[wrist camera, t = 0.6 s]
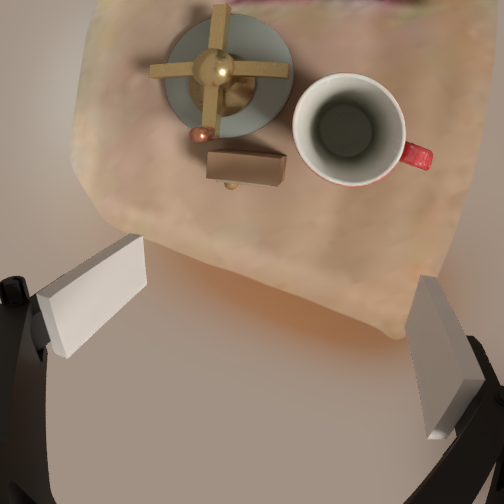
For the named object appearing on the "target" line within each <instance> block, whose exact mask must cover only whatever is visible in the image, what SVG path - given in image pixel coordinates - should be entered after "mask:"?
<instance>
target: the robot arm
mask: <svg viewBox="0 0 504 504" xmlns="http://www.w3.org/2000/svg"><path fill="white" fill-rule="evenodd" d="M146 285H147V280H146V269H145V258H144V246H143V235H138V234H131V233H130V234H128V235H127V236H125V237H123V238H122V239H120V240H118V241H117V242H115V243H114V244H112V245H110V246H109V247H107V248H106V249H104V250H102V251H100V252H99V253H97V254H96V255H94V256H93V257H91V258H89V259H88V260H86V261H85V262H83V263H81V264H80V265H78V266H77V267H75V268H74V269H72V270H71V271H69V272H68V273H66V274H64V275H62V276H61V277H59V278H58V279H56V280H55V281H53V282H52V283H50V284H49V285H47V286H46V287H44V288H43V289H41V290H40V291H38V292H37V293H35V294H34V295H33V296H31V297H30V296H29V292H28V289H27V285H26V281H25V278H23V277H21V276H12V277H8V278H6V279H4V280H2V281H1V282H0V299H1V302H2V304H0V504H56V502H55V500H54V498H53V496H52V493H51V490H50V482H49V472H48V462H47V448H46V417H45V416H46V411H45V410H46V408H45V406H46V405H45V403H46V371H47V370H46V369H47V355H48V353H47V349H46V345H47V343H49V342H50V341H51V344H52V347H53V350H54V352H55V353H56V354H58V355H60V356H62V357H64V358H67V359H68V358H69V357H70V356H71V355H72V354H73V353H74V352H75V351H76V350H77V349H78V348H79V347H80V346H81V345H82V344H83V343H84V342H86V341H87V340H88V339H89V338H90V337H91V336H92V335H93V334H94V333H95V332H96V331H97V330H98V329H99V328H100V327H101V326H102V325H103V324H105V323H106V322H107V321H108V320H109V319H110V318H111V317H112V316H113V315H114V314H115V313H116V312H117V311H119V310H120V309H121V308H122V307H123V306H124V305H125V304H126V303H127V302H128V301H129V300H130V299H132V298H133V297H134V296H135V295H136V294H137V293H138V292H139V291H140V290H141V289H143V288H144V287H145V286H146ZM405 331H406V335H407V338H408V342H409V347H410V351H411V355H412V360H413V364H414V369H415V373H416V378H417V383H418V388H419V394H420V399H421V405H422V410H423V416H424V422H425V429H426V435H427V439H447V437H448V436H449V435H450V433H451V432H452V431H453V429H454V428H455V431H456V436H457V437H456V439H455V440H454V441H453V443H452V444H451V446H449V448H448V449H447V450H446V452H445V453H444V454H443V457H442V458H441V459H440V460H439V462H438V463H437V464H436V466H435V467H434V468H433V469H432V471H431V472H430V473H429V474H428V476H427V477H426V478H425V479H424V480H423V482H422V483H421V484H420V485H419V486H418V488H417V489H416V490H415V491H414V492H413V493H412V495H411V496H410V497H409V498H408V499H407V500H406V501H405V502H404V503H403V504H472V503H473V501H474V500H475V498H476V496H477V495H478V493H479V491H480V490H481V488H482V486H483V484H484V483H485V481H486V479H487V477H488V476H489V474H490V472H491V470H492V468H493V466H494V464H495V462H496V466H495V470H494V474H493V478H492V482H491V486H490V490H489V493H488V496H487V500H486V503H485V504H504V386H500V383H499V381H498V379H497V376H496V374H495V372H494V370H493V368H492V365H491V363H489V359H488V357H487V355H486V353H485V351H484V349H483V346H482V344H481V343H480V342H479V341H478V340H477V339H476V338H475V337H474V336H467V335H465V333H464V331H463V329H462V326H461V324H460V323H459V320H458V319H457V317H456V314H455V312H454V310H453V308H452V307H451V305H450V303H449V301H448V299H447V297H446V295H445V293H444V291H443V290H442V288H441V286H440V284H439V282H438V280H437V279H436V277H431V276H424V275H420V279H419V282H418V286H417V289H416V293H415V296H414V299H413V303H412V306H411V309H410V312H409V315H408V318H407V321H406V324H405Z"/></svg>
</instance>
